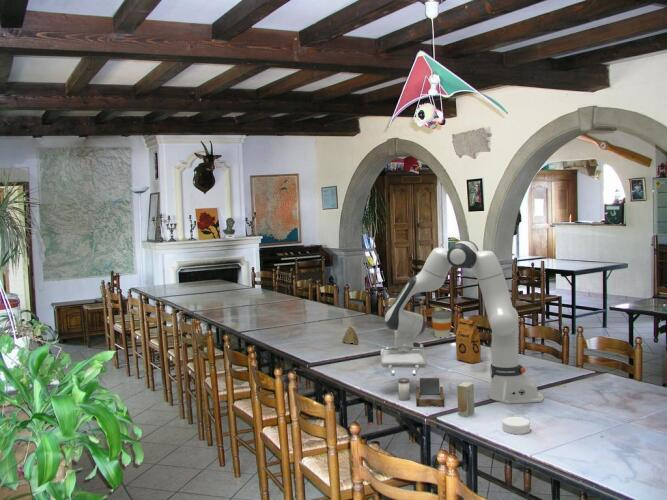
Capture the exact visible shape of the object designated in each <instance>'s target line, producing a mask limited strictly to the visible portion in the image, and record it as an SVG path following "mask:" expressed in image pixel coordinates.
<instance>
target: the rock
mask: <svg viewBox="0 0 667 500" xmlns="http://www.w3.org/2000/svg"><path fill="white" fill-rule="evenodd" d="M342 342H345V343H353V344H352V345H359V344H358V343H359V337H358V334H357V333H356V331H355V330H354V328H353V327H351V326H348V328H347V329H346V331H345V333H344V336H343V337H342V340H341V343H342ZM345 343H344V344H345Z"/></svg>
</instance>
